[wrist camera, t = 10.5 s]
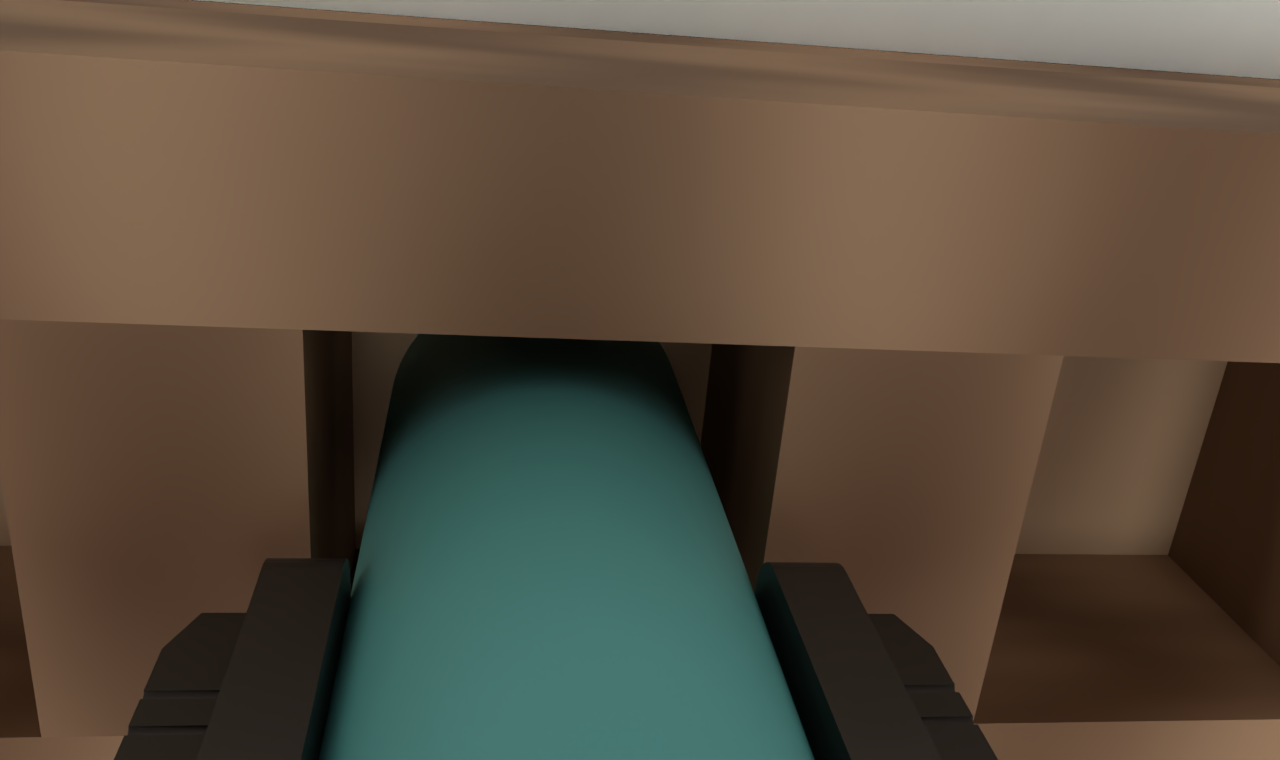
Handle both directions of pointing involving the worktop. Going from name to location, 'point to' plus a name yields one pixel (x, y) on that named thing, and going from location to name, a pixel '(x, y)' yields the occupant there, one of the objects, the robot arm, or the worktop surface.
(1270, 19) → the worktop surface
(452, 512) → the pin
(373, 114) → the bore block
